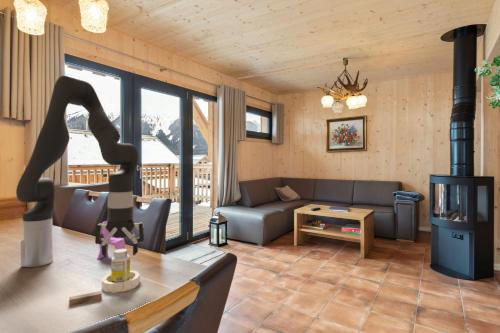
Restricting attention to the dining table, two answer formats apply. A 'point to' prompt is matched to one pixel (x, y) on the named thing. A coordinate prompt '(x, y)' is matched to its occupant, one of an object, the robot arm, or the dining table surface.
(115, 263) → the supplement bottle
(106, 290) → the jar dish
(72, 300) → the walnut stick
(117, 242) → the toy chair
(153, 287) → the dining table surface
